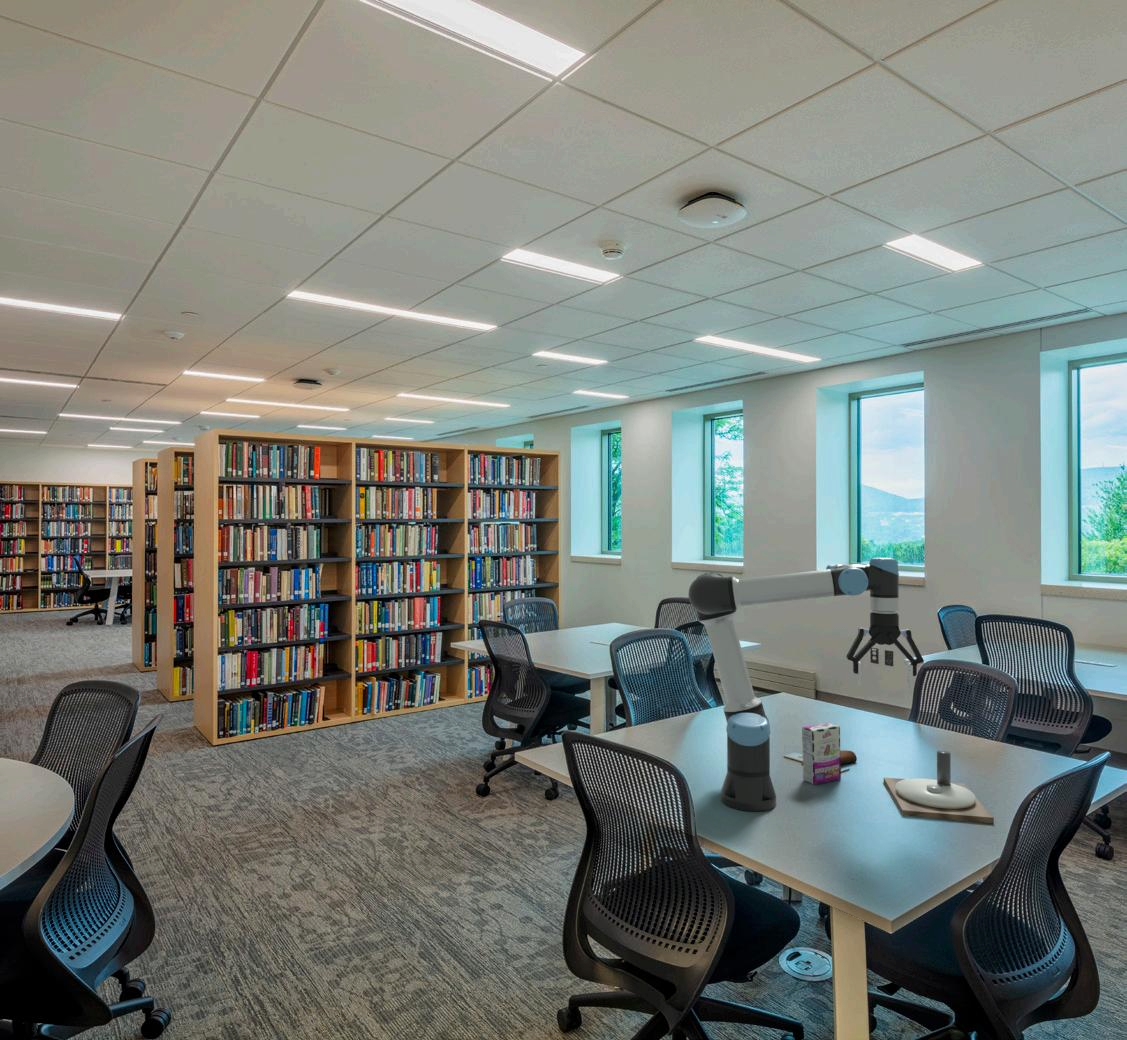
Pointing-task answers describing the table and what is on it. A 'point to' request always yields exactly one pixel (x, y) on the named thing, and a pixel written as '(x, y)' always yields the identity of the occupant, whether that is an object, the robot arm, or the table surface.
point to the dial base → (917, 810)
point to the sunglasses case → (846, 757)
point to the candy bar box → (821, 753)
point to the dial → (937, 788)
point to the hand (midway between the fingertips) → (884, 686)
